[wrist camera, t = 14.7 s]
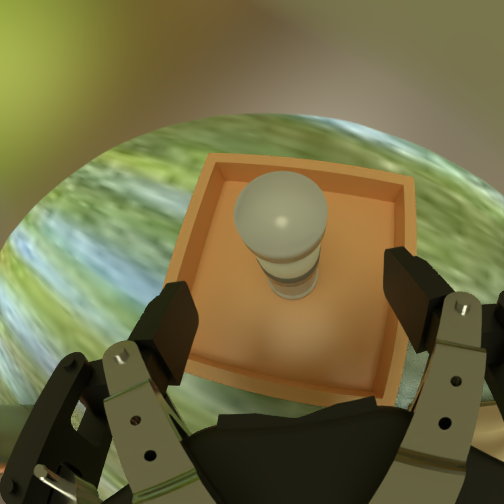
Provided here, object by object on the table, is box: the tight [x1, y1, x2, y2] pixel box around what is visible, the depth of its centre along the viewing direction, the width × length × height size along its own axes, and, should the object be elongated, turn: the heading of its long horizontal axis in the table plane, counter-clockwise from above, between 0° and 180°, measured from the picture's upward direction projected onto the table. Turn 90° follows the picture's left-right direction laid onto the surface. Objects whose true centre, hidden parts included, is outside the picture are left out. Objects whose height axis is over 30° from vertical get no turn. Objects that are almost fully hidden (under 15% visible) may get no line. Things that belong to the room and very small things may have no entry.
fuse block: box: [408, 400, 504, 462], centre depth 11 cm, size 10×21×2 cm, turn 77°
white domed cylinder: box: [234, 171, 328, 300], centre depth 16 cm, size 4×4×11 cm
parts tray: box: [162, 153, 417, 407], centre depth 20 cm, size 18×18×4 cm
